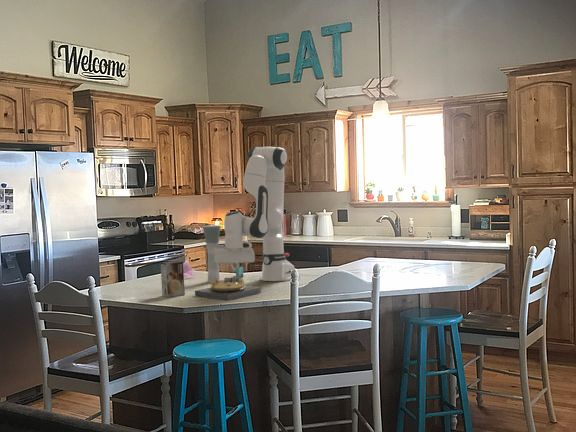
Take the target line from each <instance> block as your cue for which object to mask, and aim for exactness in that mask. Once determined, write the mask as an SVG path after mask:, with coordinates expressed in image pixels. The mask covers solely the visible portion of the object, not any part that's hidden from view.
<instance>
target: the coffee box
mask: <svg viewBox="0 0 576 432" xmlns="http://www.w3.org/2000/svg"><path fill="white" fill-rule="evenodd" d="M183 264H184V262H183V261H179V260H174V261H167V262H166V261H165V262H160V277H161V294H162V297H165V298H170V297H171V298H172V297H177V296H185V294H186V293H185V291H186V290H185V280H184V273H183Z"/></svg>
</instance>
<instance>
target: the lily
mask: <svg viewBox="0 0 576 432" xmlns="http://www.w3.org/2000/svg"><path fill="white" fill-rule="evenodd" d="M189 262H190V261H189V260H188V259H186V260H185V261H184V262H183V273H184V281H185V280H186V279H187V277H189V278H193V279H196V277H195V274H194V273H193V271H194V270H195V268H194V267H192V266H191V267H190V263H189Z"/></svg>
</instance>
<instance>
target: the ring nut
mask: <svg viewBox="0 0 576 432" xmlns="http://www.w3.org/2000/svg"><path fill="white" fill-rule="evenodd" d="M235 268H236V267H235ZM245 286H246V285H245V280H244V266H238V268H236V272H235V275H233V276H230V277H224V279H220V280H219V281H218V280H215V279H213V280H211V283H210V288H211V290H212V291H237V290H242V289H244V288H245Z"/></svg>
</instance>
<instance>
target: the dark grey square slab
mask: <svg viewBox="0 0 576 432" xmlns="http://www.w3.org/2000/svg"><path fill="white" fill-rule="evenodd" d="M261 291H262V290H261V287H258V286H250V285H249V286H248V285H245V288H244V289H242V290H237V291H212V290H211V287H207V288H203V289H202V288H201V289H198V290H197V289H196V290H194V296H195V297H201V298H207V299H213V300H214V299H216V300H224V301H230V300H231V301H232V300H235V299H240V298H245V297H249V296H253V295H257V294H261Z"/></svg>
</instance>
